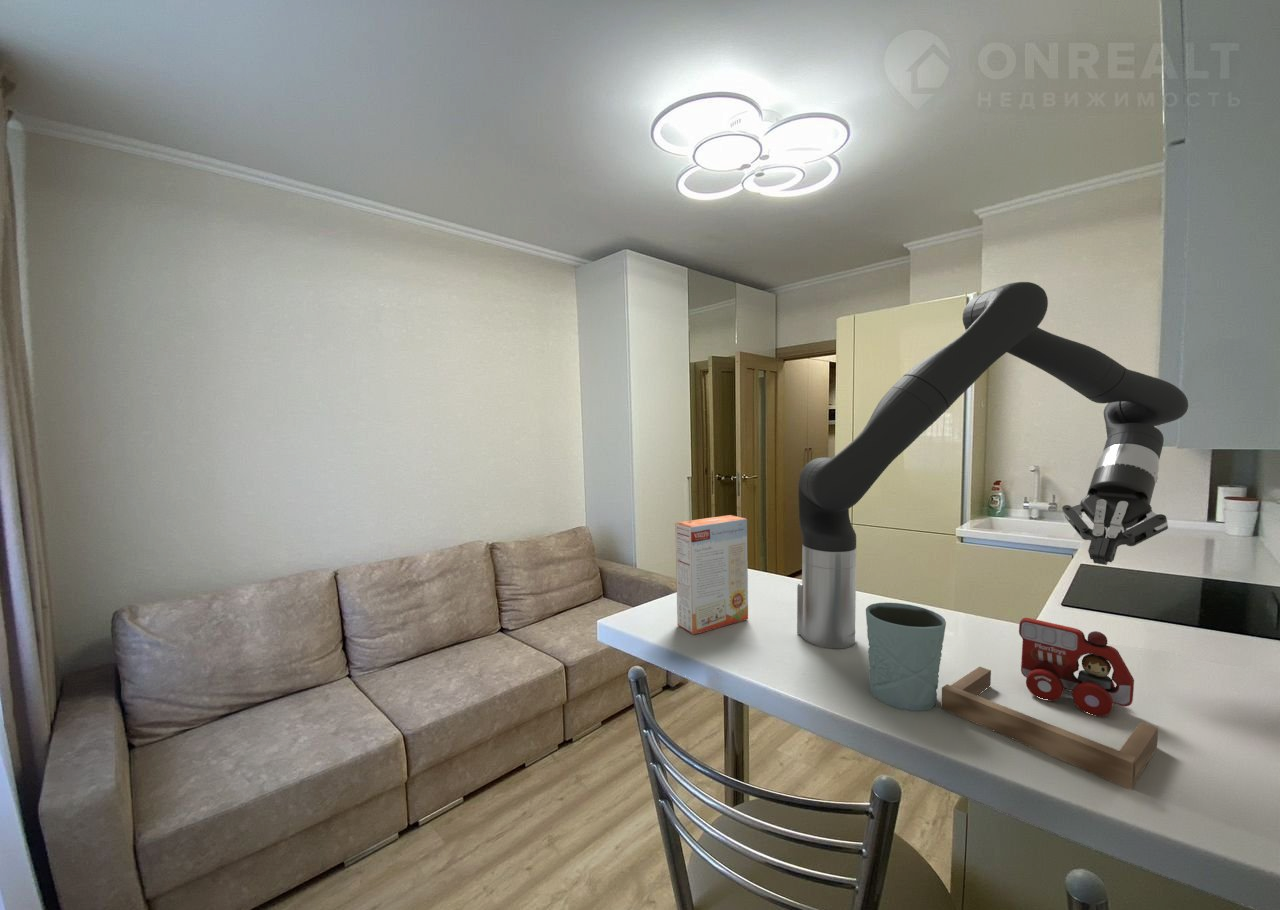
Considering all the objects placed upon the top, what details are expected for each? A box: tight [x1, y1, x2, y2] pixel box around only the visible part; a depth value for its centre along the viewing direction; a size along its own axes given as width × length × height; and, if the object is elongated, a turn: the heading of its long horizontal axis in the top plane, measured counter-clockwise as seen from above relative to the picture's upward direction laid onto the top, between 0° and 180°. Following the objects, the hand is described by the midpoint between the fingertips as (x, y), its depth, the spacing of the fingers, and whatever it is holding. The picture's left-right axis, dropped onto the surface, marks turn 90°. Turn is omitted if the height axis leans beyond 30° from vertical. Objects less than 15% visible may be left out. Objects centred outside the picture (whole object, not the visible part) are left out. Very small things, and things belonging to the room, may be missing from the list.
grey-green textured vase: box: [865, 602, 947, 712], centre depth 72 cm, size 10×10×12 cm
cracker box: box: [674, 514, 749, 635], centre depth 99 cm, size 14×6×21 cm, turn 120°
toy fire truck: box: [1018, 617, 1135, 717], centre depth 71 cm, size 7×12×10 cm, turn 43°
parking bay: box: [941, 666, 1159, 790], centre depth 64 cm, size 19×12×3 cm, turn 35°
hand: (1099, 561), depth 77 cm, fingers closed
